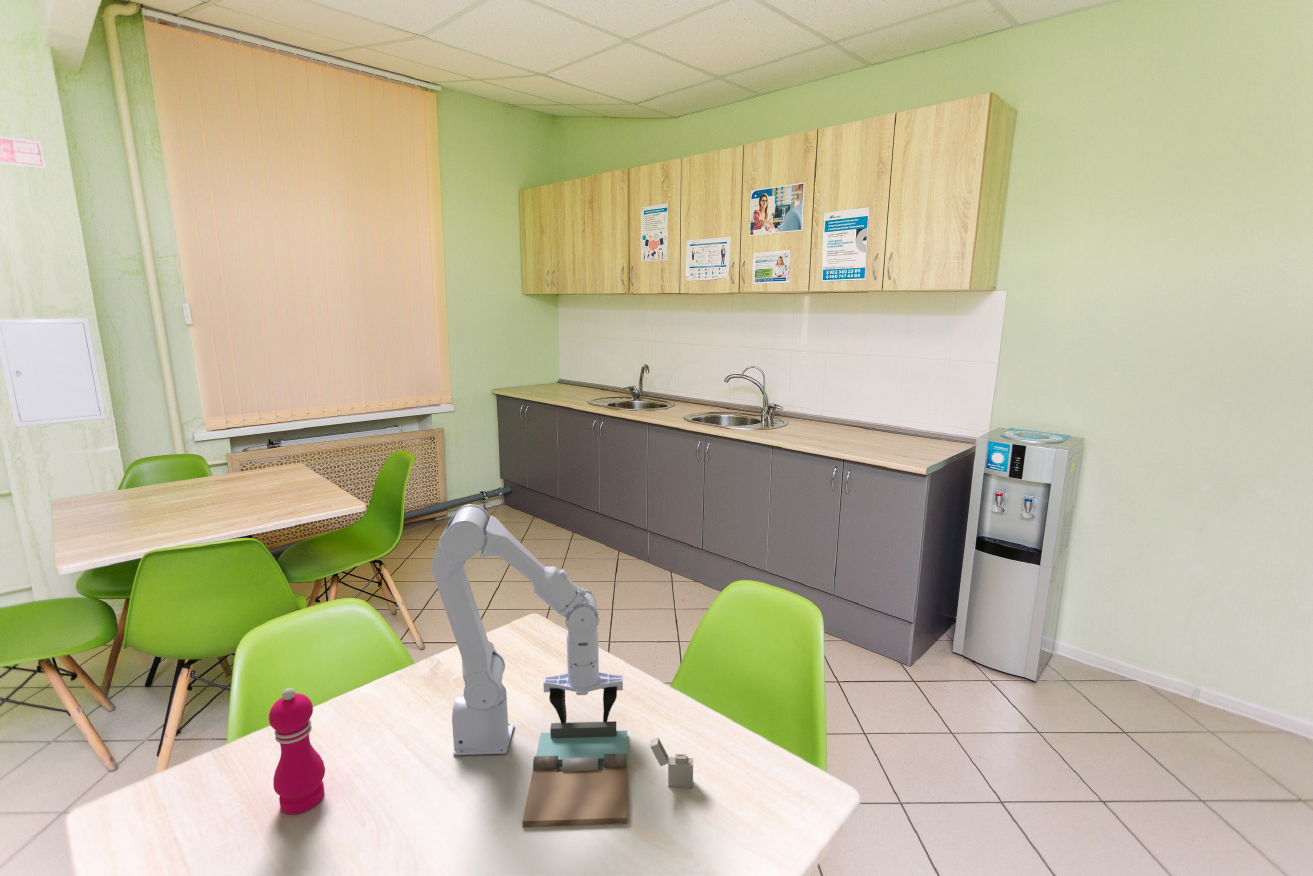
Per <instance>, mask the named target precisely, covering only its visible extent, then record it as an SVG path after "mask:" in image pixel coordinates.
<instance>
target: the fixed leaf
mask: <svg viewBox="0 0 1313 876" xmlns="http://www.w3.org/2000/svg"><path fill="white" fill-rule="evenodd" d="M532 761H533V762H532V774H531V778H530V783H529V788H528V793H527V798H526V802H525V808H524V812H523V817H522V820H521V821H522V828H526V827H529V828H530V827H531V828H532V827H553V826H554V827H556V826H559V827H560V826H561V827H562V826H582V825H583V826H584V825H585V826H586V825H613V824H615V825H616V824H627V823H628V752H627V753H623V754H604V763H603V770H598V771H570V772H562V771H558V770H559V769H558V768H559V765H558V756H536V755H534V756H533V760H532Z"/></svg>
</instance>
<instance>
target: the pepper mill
mask: <svg viewBox="0 0 1313 876" xmlns="http://www.w3.org/2000/svg"><path fill="white" fill-rule="evenodd" d="M313 713H314V705H313V702H312V700H311V699H310V697H308V696H307V695H305V694H303V693H296V691H295V689H294V688H292V687H290V688H289V687H288V688H286V689H284V690H283V691H282V693H281V697H280V698H279V699H278V700H276V701H275V702H274V703H273V704H272V706H271V707H270V709H269V713H268V724H269V725H270V727H271V728H272V729H273V730H274V735H275V736H274V738H275V741H276V742H277V743H279V746H280V756H279V760H278V763H277V765H276V769H275V770H274V775H273V790H274V792H275V793H276V794H277V795H278V796H279V798H278V800H279V807H280V808H279V809H280V810H281V812H282V813H284V814H287V815H298V814H303V813H305V812H308V811H310V810H312V809H313V808H315V807H316V806H318V804H320V802H321V801H322V800H323V798H324V796H325V784H324V781H323V779H324V777H325V774H326V766H325V762H324V760H323V758H322V757H321V755H320V753H318V751H316V749H315V748H314V747H313V745H312V744H311V741H310V733H311V732H312V729H313V726H312V720H311V717H312V715H313Z"/></svg>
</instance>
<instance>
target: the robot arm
mask: <svg viewBox="0 0 1313 876" xmlns="http://www.w3.org/2000/svg"><path fill="white" fill-rule="evenodd" d="M480 551H481V553H480V555H479V557H480V558H488V557H497V556H498V557H500V559H502V560H503V561H505V562H506V564H507V563H508V565H510V566H511V567H513V568H514V569H515V570H516V571H517V572H519V573H520V574H522V575H523V576H524V577H526V578H527V579H528V580H530V581H531V582H532V592H533V593H534V594H535V596H538V598H540V600H542V601H543V602H544V603H545V604H546V605H548V606H549V607H550V608H551V609H552V610H554V611H555V613H557V614H558V615H560V616H562V617H564V618H565V621H564V622H565V626H566V628H567V634H566V662H567V663H566V665H567V672H566V673H563V674H558V675H553V676H552V675H551V676H544V679H543V685H542V686H543V693H549V697H548V698H549V702H550V704H551V705H552V706H553V707H554V709H555V711H556V714H557V715H558V718H559V720H560V721H559V722H560V723H567V717H568V716H567V708H566V691H568V692H576V693H575V694H576V695H577V696H587V695H588V694H589V692H593V691H597V690H603V691H602V692H603V693H602V694H603V695H602V696H603V697H602V700H603V701H602V702H603V715H602V716H603V717H602V718H603V719H602V722H608V720H609V716H610V712H611V709H612V707H613V705H614V704H615V702H616V700H617V697H618V691H619V692H620V691H624V675H622V674H612V673H606V672H601V671H599V670H600V665H599V658H600V657H599V632H598V626H599V624H600V617H599V609H598V604H597V603H598V602H597V600H596V598H595V597H596V596H594V594H592V592H591V590H588V589H586V588H584V587H581V588H580V587H579V586H578V585H577V584H576V583H574V581H573V580H571V579H570V578H568V572H567V571H566V569H564V568H561V569H559V568H557V566H552V565H551V566H545V565H544V564H543V563H542V562H540V560H539V559H537V558H536V556H534V554H532V553H531V552H530V551H529V550H528V549H527V548H526V546H524V544H522V543H521V542H520V541H519V540H518V539H517V538H516V537H515V536H514V535H513V534H512V533H511V532H510V531H509V530H508V529H507V528H506V527H505V526H504V525H503V524H502V523H501V521H500V520H498V518H496V517H495V516H494V515H489V513H488V512H487V510H486V509H485V508H484V507H482V506H480V505H478V504H473V503H472V504H465V505H463V506H461V507H460V508H458V509H457V510H456V511H455V513H454V514H453V515H452V516H451V518H450V519H449V520H448V523H447V524H446V527H444V530H443V533H442V535H441V536H440V537H439V539H438V544H437V546H436V549H435V553H434V554H433V555H434V556H433V559H432V561H431V565H430V567H431V572H432V575H433V579H434V581H435V584H436V587H437V591H438V592H439V596H440V598H441V602H442V605H443V608H444V610H445V614H446V616H447V619H448V622H449V624H450V628H451V631H452V633H453V636H454V639H455V641H456V645H457V648H458V650H459V653H460V657H461V667H462V669H461V670H462V678H463V679H462V680H463V682H464V688H463V694H461V695H457V696H456V697H455V700H454V701H453V702H454V703H453V707H452V713H451V724H452V738H453V739H452V740H453V752H452V754H453V756H468V755H470V756H471V755H472V756H473V755H500V754H501V755H505V754H507V753H508V750H509V746H510V741H511V739H512V736H513V731H514V727H515V723H514V722H509V716H508V715H509V714H508V696H507V694H508V693H507V689H506V687H505V685H504V684H503V675H504V672H505V670H506V663H505V659H504V657H503V656H502V655H501V654H500V653H498V652H497V650H496V649H495V646H494V643H493V642H492V641H490V640H489V639H488V638H489V637H488V636H487V632H486V629H485V627H484V624H483V620H482V617H481V614H480V611H479V608H478V606H477V603H476V602H477V601H476V600H475V597H474V594H473V591H472V587H471V585H470V581H469V579H468V575H467V573H466V569H465V567H464V566H465V565H466V563H467V561H468V560H469V559H471V558H472V557H473V556H475V555H477V554H478V552H480Z"/></svg>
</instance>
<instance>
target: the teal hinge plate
mask: <svg viewBox="0 0 1313 876" xmlns="http://www.w3.org/2000/svg"><path fill="white" fill-rule="evenodd" d="M549 731H550V732H540V736H539V741H538V745H537V750H536V755H535V756H558V766H559V765H560V766H561V772H570V771H599V765H600V764H604V754H623V753H627V754H628V730H617V721H616V720H615V721H607V722H603V721H581V722H580V721H579V722H566V723H561V722H552V723H550V729H549Z"/></svg>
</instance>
